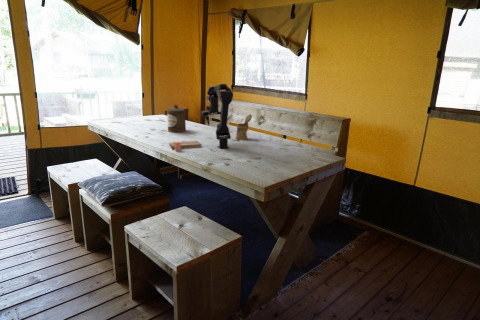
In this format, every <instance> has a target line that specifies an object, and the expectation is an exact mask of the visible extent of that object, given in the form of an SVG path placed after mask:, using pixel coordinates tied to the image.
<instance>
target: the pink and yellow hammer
mask: <svg viewBox="0 0 480 320" xmlns="http://www.w3.org/2000/svg"><path fill="white" fill-rule="evenodd" d="M181 142H182V141H180V140H179V141H178V140H176V139H175V140H172V143H174V149H173V150H174V151H175V152H179V151H182V148H181Z"/></svg>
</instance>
